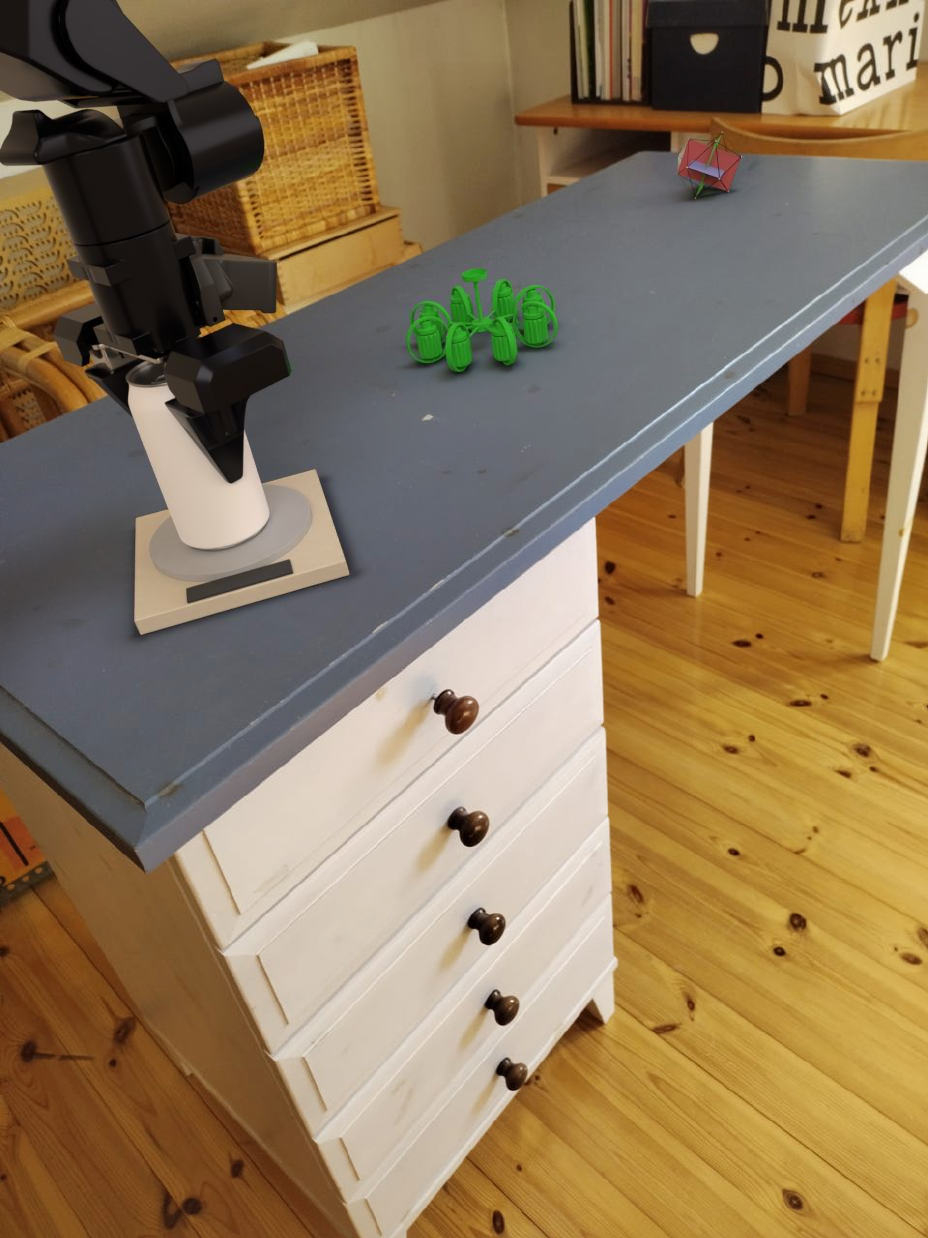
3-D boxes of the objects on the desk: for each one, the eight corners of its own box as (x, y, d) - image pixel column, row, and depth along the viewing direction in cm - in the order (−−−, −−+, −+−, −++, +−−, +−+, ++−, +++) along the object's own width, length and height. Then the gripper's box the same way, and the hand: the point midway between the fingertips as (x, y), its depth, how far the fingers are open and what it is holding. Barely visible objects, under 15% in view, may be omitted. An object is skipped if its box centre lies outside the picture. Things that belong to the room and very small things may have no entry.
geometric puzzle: (757, 163, 117) (718, 109, 115) (748, 179, 112) (707, 123, 110) (710, 202, 122) (671, 151, 120) (699, 219, 117) (659, 166, 115)
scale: (140, 635, 61) (130, 613, 60) (141, 531, 72) (132, 510, 71) (349, 575, 63) (343, 552, 62) (319, 482, 74) (313, 461, 73)
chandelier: (380, 377, 88) (364, 303, 84) (447, 314, 99) (435, 246, 94) (530, 382, 82) (520, 303, 78) (584, 315, 93) (578, 242, 88)
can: (281, 500, 69) (233, 341, 62) (257, 550, 64) (201, 382, 57) (198, 507, 70) (141, 351, 63) (167, 556, 65) (101, 392, 58)
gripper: (328, 198, 53) (385, 448, 62) (158, 181, 65) (228, 394, 74) (157, 264, 47) (248, 528, 57) (6, 233, 59) (102, 456, 68)
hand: (207, 468), depth 64 cm, fingers closed on can, 6 cm apart
